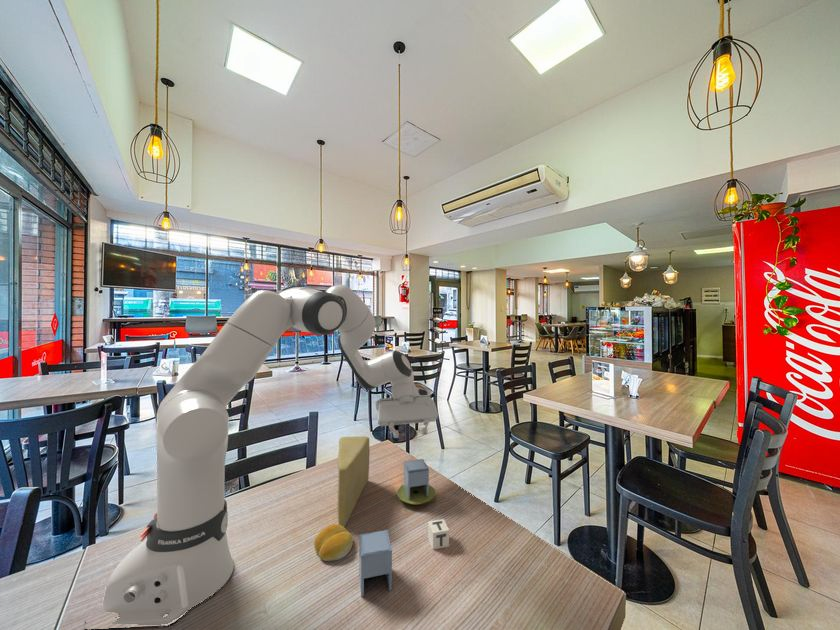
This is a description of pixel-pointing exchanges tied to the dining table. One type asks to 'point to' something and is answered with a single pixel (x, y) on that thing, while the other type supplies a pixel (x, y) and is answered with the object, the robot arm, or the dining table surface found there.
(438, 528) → the letter cube
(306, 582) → the dining table surface
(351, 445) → the cheese
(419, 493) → the mat
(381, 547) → the gray notched block
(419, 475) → the grey stool
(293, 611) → the dining table surface
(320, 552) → the bread roll
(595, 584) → the dining table surface
